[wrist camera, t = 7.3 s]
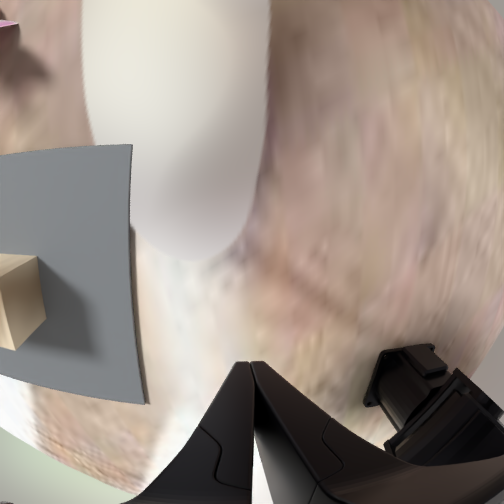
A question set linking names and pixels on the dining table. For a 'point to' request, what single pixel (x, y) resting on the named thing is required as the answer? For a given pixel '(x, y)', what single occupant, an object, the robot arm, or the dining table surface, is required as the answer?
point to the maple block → (19, 299)
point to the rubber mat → (74, 268)
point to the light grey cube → (260, 486)
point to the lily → (6, 23)
